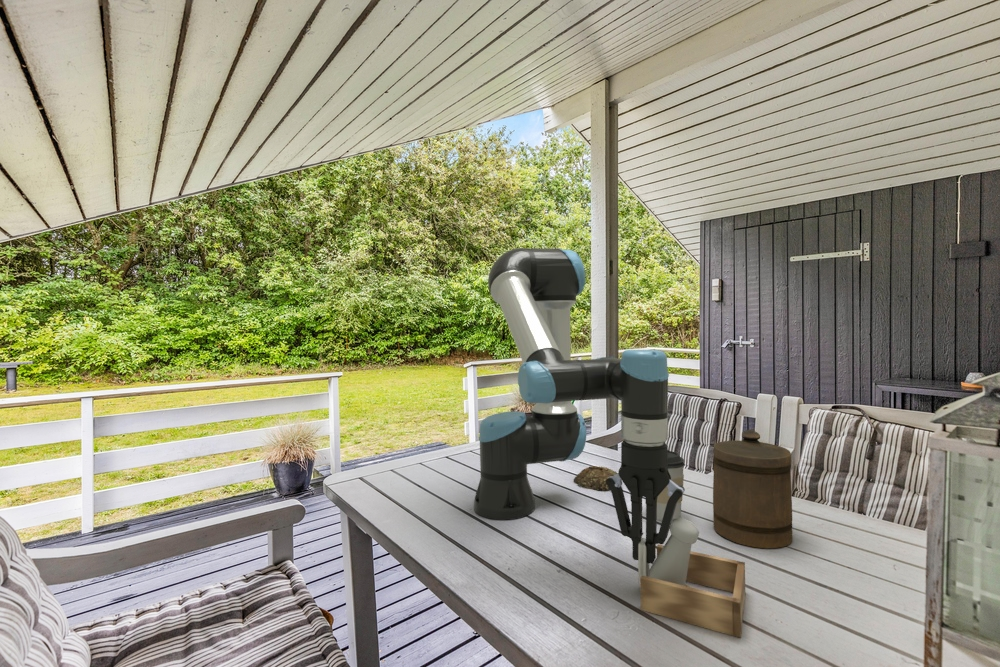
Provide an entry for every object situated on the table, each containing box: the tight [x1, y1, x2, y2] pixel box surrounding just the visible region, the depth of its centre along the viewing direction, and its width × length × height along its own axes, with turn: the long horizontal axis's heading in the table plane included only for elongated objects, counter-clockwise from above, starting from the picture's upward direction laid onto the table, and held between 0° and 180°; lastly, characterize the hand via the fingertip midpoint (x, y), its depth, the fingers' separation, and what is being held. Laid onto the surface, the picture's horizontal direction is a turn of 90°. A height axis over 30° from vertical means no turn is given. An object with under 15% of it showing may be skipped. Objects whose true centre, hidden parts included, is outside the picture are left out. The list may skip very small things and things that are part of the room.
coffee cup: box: [657, 449, 685, 522], centre depth 110 cm, size 9×9×15 cm
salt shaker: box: [649, 517, 700, 586], centre depth 76 cm, size 6×6×13 cm
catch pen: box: [639, 544, 746, 638], centre depth 76 cm, size 14×13×5 cm
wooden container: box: [712, 429, 793, 549], centre depth 99 cm, size 15×15×22 cm
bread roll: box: [573, 465, 618, 492], centre depth 134 cm, size 13×12×5 cm
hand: (644, 579), depth 79 cm, fingers closed
